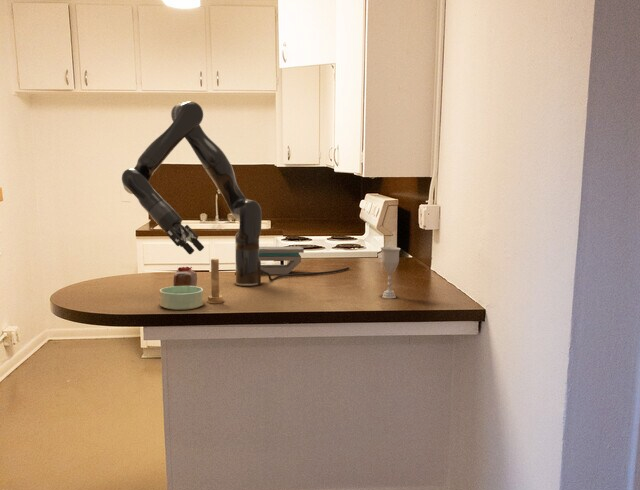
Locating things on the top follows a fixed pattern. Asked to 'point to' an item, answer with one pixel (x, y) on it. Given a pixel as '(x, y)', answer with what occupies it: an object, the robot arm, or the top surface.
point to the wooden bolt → (215, 283)
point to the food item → (185, 277)
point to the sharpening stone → (280, 258)
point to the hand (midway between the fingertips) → (197, 251)
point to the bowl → (181, 297)
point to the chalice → (390, 266)
